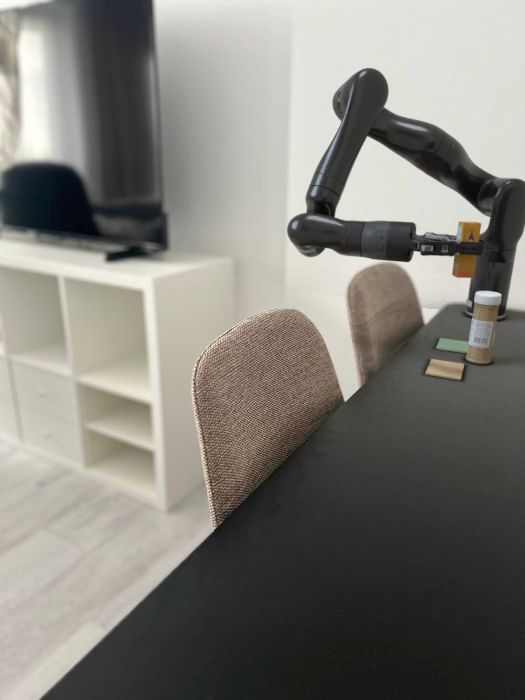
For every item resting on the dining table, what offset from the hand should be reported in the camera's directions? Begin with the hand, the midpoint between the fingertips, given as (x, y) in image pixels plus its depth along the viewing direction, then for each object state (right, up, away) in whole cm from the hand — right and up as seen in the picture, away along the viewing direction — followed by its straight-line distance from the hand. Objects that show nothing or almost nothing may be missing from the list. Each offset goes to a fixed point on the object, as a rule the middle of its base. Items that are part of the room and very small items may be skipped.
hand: (482, 247), depth 93 cm
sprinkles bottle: (+2, -21, +6) cm, 22 cm away
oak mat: (-6, -22, +1) cm, 23 cm away
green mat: (0, -18, +14) cm, 23 cm away
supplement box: (-3, -5, +3) cm, 6 cm away
